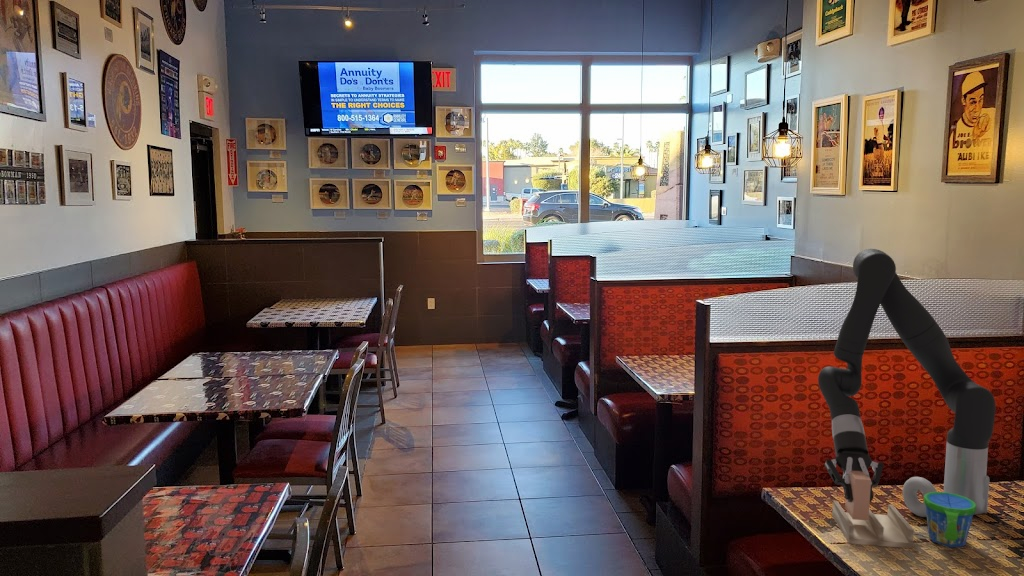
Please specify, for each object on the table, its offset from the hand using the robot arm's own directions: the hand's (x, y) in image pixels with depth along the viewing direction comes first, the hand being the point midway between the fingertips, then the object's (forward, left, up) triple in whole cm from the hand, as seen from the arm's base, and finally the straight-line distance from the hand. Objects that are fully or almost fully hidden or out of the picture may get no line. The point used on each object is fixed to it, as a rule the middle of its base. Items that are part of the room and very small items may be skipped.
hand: (860, 501), depth 180 cm
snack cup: (-19, +1, -8) cm, 21 cm away
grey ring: (-18, -14, -8) cm, 25 cm away
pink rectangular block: (0, -2, -4) cm, 5 cm away
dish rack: (-3, -2, -8) cm, 9 cm away
